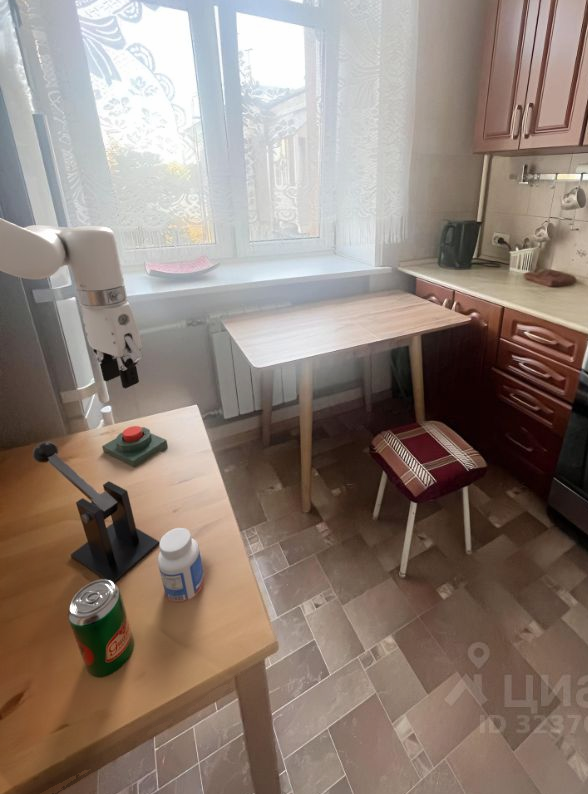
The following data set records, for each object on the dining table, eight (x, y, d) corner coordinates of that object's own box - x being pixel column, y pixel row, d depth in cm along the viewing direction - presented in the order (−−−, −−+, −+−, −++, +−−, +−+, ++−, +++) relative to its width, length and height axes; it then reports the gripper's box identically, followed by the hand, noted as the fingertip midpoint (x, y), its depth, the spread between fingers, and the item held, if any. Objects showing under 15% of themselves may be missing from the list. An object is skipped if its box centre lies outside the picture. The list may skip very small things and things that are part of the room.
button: (120, 439, 84) (118, 432, 83) (135, 430, 87) (134, 424, 86) (131, 444, 82) (129, 437, 82) (146, 435, 85) (145, 428, 85)
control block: (103, 454, 85) (100, 439, 83) (137, 434, 91) (134, 420, 90) (135, 469, 81) (131, 453, 79) (168, 447, 87) (165, 432, 86)
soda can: (122, 687, 47) (100, 620, 42) (79, 685, 47) (54, 619, 42) (144, 640, 51) (127, 576, 47) (105, 639, 51) (85, 575, 47)
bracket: (72, 560, 62) (53, 502, 57) (120, 523, 68) (106, 469, 64) (113, 588, 58) (96, 528, 53) (160, 546, 64) (148, 490, 60)
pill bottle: (195, 563, 62) (187, 516, 58) (211, 587, 58) (203, 539, 55) (159, 586, 58) (148, 537, 55) (173, 613, 55) (162, 563, 51)
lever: (28, 458, 62) (27, 445, 61) (50, 447, 65) (49, 434, 64) (99, 524, 58) (100, 512, 57) (120, 510, 61) (121, 497, 59)
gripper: (152, 297, 73) (166, 384, 79) (94, 284, 79) (112, 365, 86) (113, 308, 66) (132, 401, 73) (53, 293, 73) (76, 379, 80)
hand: (121, 381), depth 79 cm, fingers open, 5 cm apart
